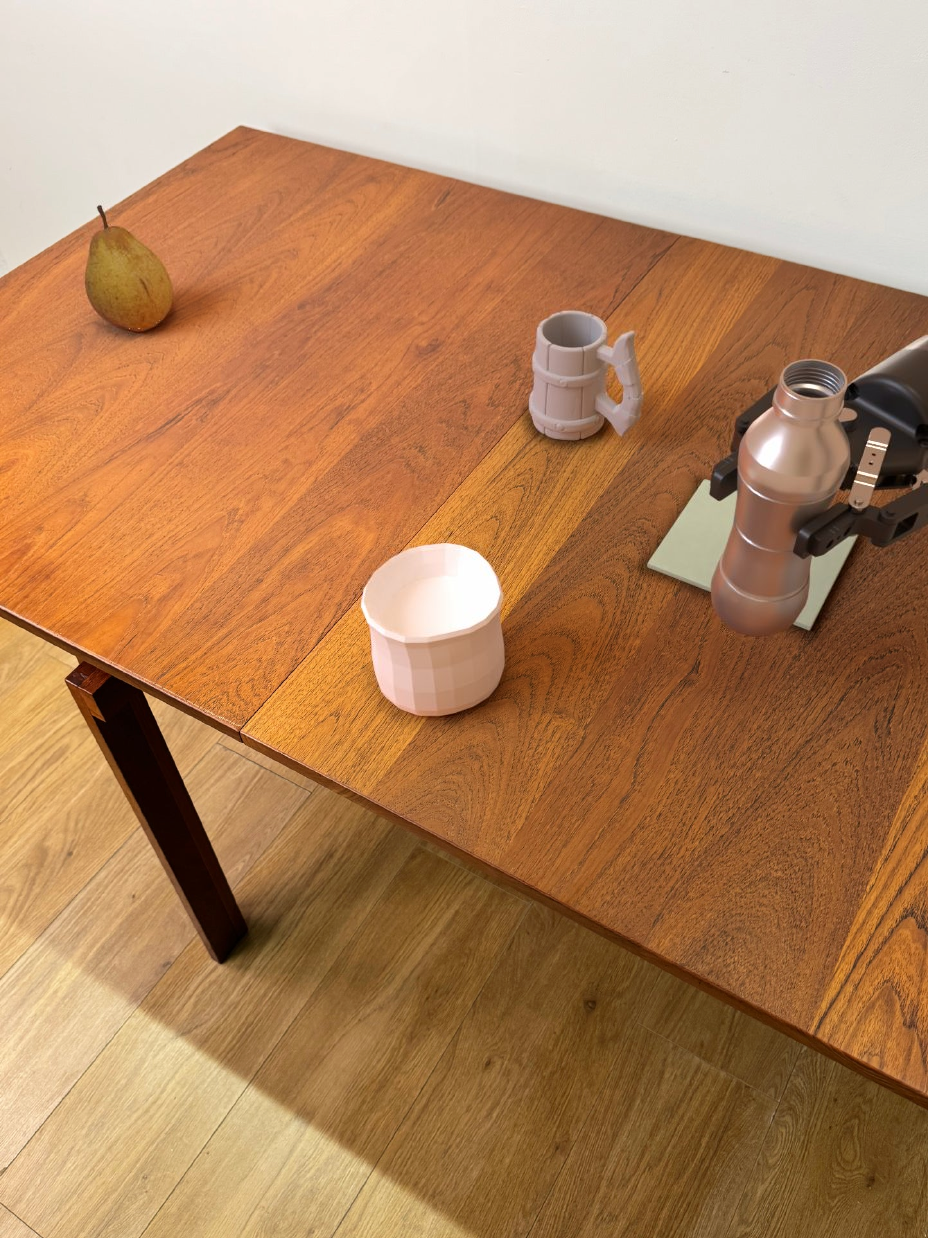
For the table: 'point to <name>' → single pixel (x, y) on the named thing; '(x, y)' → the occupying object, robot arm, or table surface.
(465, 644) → the cup
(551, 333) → the mug
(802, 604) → the metal bottle
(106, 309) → the fruit
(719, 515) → the mat
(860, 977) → the table surface
